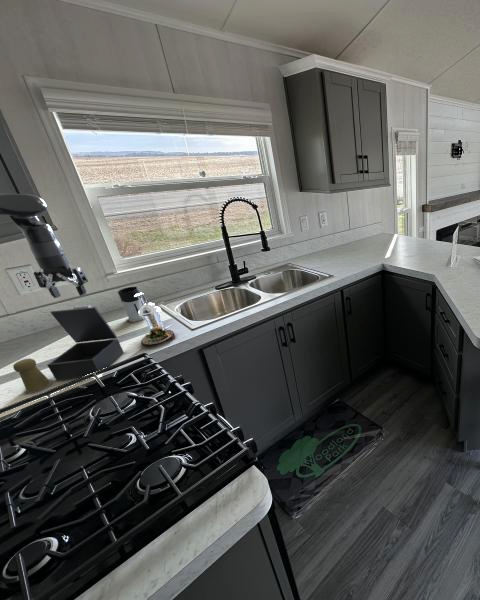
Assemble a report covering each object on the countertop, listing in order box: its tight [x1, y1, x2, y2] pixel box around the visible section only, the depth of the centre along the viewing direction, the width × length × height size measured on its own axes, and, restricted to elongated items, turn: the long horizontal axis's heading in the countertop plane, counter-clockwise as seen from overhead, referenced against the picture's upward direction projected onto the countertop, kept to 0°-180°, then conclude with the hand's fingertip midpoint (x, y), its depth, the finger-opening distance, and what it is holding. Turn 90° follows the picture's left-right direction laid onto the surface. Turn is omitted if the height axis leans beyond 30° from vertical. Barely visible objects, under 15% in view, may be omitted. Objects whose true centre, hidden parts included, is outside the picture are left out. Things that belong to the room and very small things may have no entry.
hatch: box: [50, 304, 118, 344], centre depth 127 cm, size 15×15×5 cm
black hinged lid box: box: [46, 338, 125, 381], centre depth 125 cm, size 15×15×7 cm
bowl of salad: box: [140, 325, 176, 346], centre depth 140 cm, size 12×12×8 cm
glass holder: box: [117, 286, 148, 323], centre depth 158 cm, size 9×14×15 cm, turn 72°
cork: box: [13, 358, 51, 393], centre depth 114 cm, size 6×6×11 cm
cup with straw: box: [133, 292, 165, 331], centre depth 145 cm, size 8×9×20 cm
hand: (70, 296), depth 121 cm, fingers open, 8 cm apart
